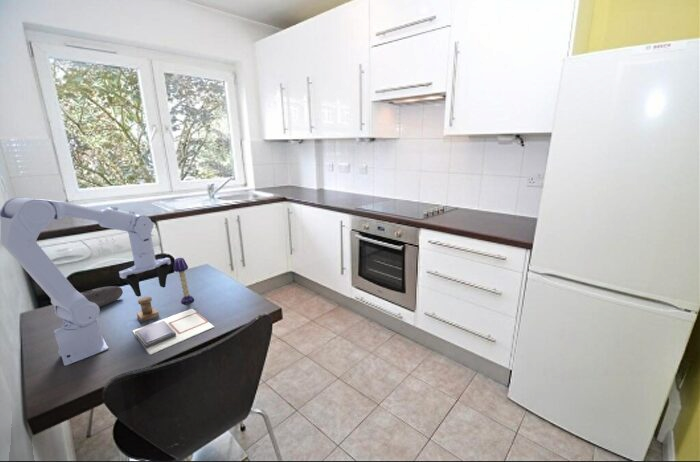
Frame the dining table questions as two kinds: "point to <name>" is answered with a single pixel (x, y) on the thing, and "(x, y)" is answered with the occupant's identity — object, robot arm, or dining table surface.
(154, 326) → the ink pad
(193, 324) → the paper sheet
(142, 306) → the stamp
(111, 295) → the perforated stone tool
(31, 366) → the dining table surface
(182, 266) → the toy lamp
